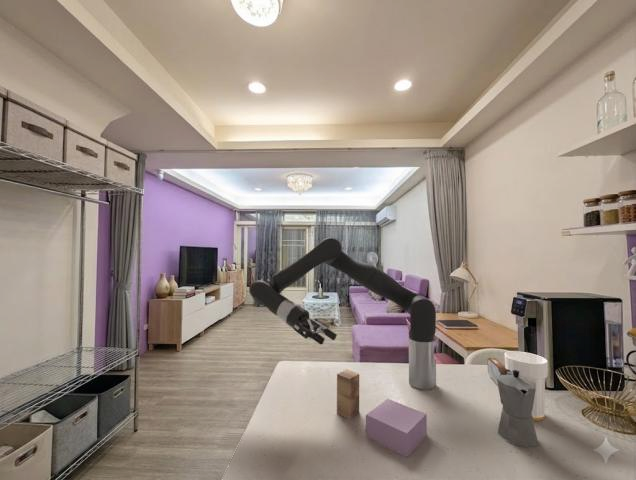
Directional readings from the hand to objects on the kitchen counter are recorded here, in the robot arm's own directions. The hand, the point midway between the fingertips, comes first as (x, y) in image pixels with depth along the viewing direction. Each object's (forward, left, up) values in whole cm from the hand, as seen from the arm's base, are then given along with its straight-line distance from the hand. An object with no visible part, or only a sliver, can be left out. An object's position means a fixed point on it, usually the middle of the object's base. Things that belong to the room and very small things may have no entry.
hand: (329, 339), depth 94 cm
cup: (-55, +29, -22) cm, 66 cm away
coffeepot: (-40, +34, -22) cm, 57 cm away
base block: (-10, +20, -22) cm, 32 cm away
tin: (-68, +12, -22) cm, 73 cm away
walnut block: (-4, +4, -22) cm, 23 cm away
